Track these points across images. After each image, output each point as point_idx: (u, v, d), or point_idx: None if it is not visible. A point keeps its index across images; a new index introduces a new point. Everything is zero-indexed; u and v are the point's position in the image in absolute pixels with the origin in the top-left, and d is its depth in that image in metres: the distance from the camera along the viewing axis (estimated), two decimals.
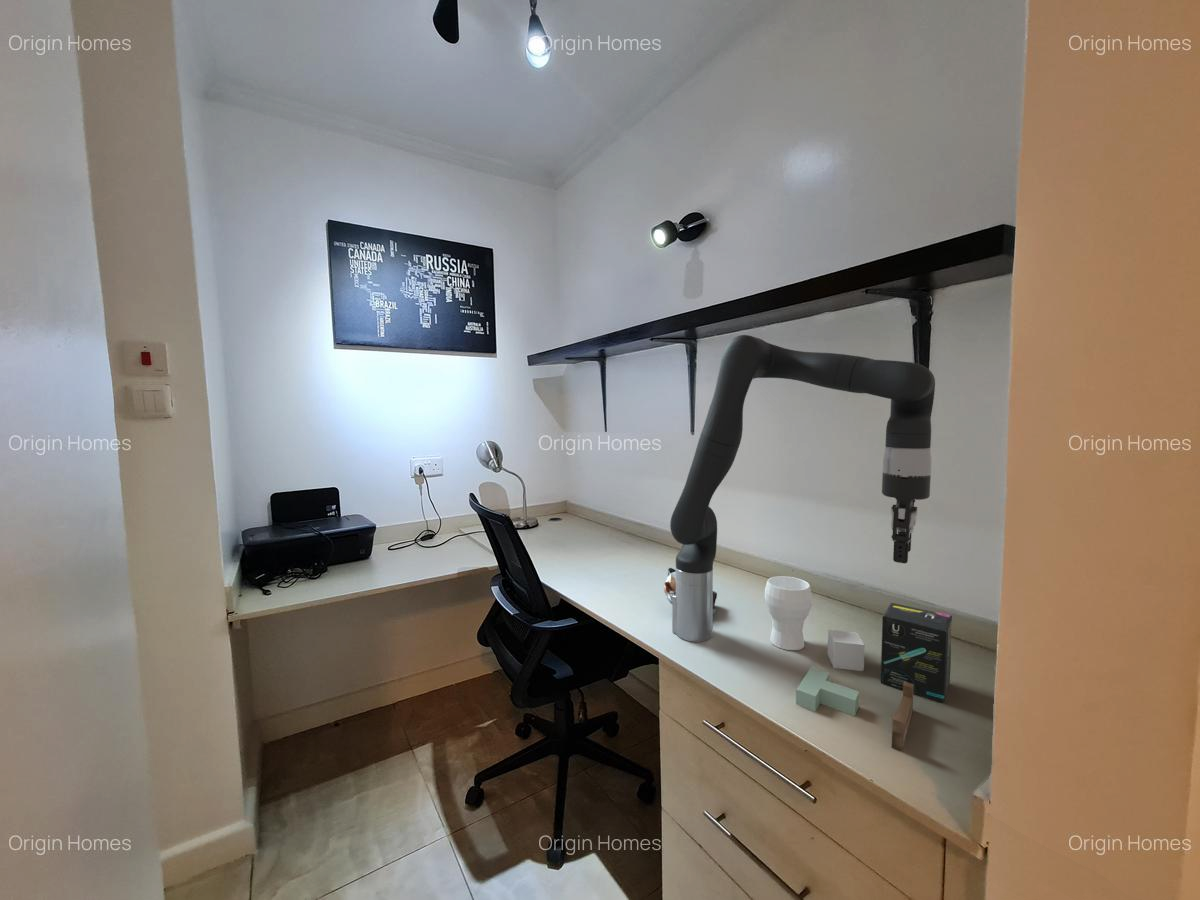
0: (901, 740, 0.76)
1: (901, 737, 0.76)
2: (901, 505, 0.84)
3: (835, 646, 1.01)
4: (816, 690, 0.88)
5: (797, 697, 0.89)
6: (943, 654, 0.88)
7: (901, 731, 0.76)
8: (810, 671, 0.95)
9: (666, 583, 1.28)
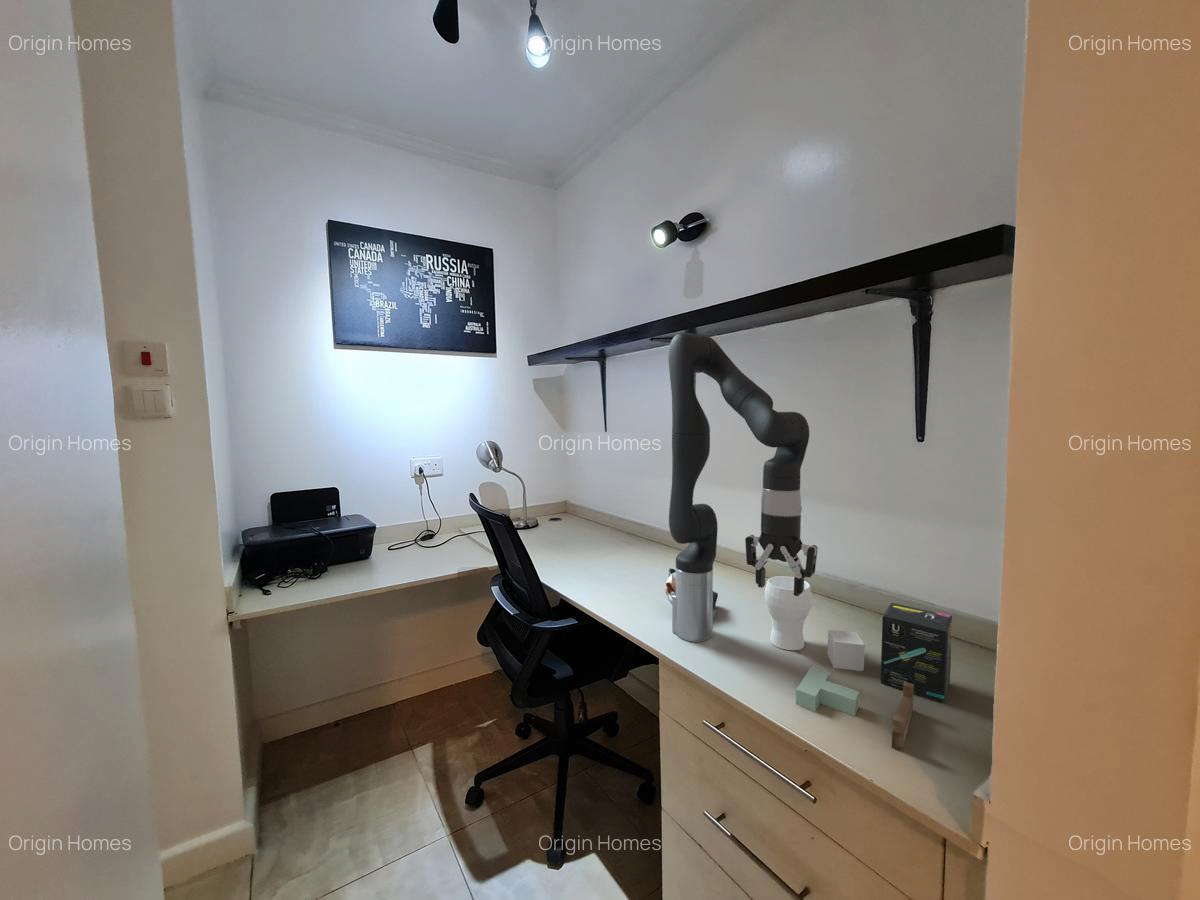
0: (901, 740, 0.76)
1: (901, 737, 0.76)
2: None
3: (835, 646, 1.01)
4: (816, 690, 0.88)
5: (797, 697, 0.89)
6: (943, 654, 0.88)
7: (901, 731, 0.76)
8: (810, 671, 0.95)
9: (667, 584, 1.27)
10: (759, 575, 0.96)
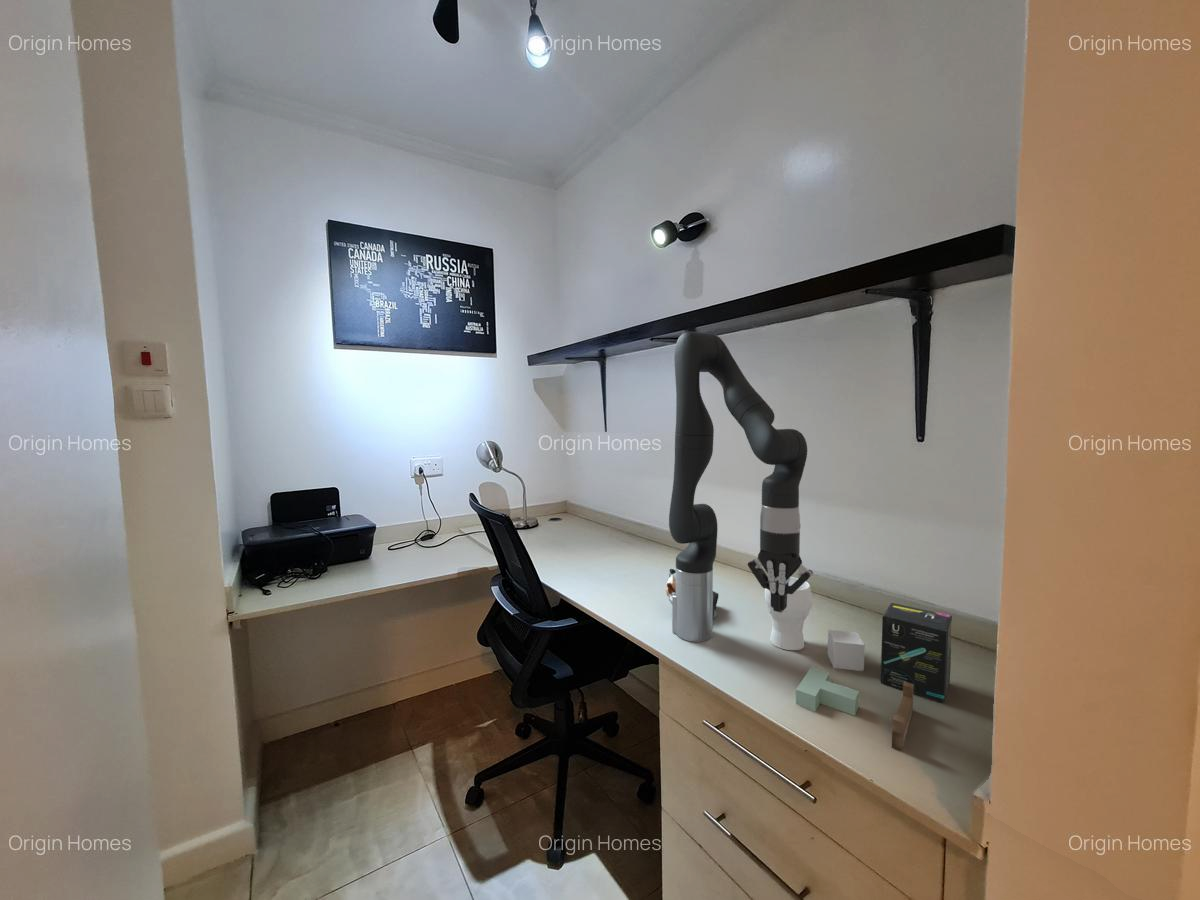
0: (901, 740, 0.76)
1: (901, 737, 0.76)
2: None
3: (835, 646, 1.01)
4: (816, 690, 0.88)
5: (797, 697, 0.89)
6: (943, 654, 0.88)
7: (901, 731, 0.76)
8: (810, 671, 0.95)
9: (668, 584, 1.27)
10: (774, 599, 0.94)
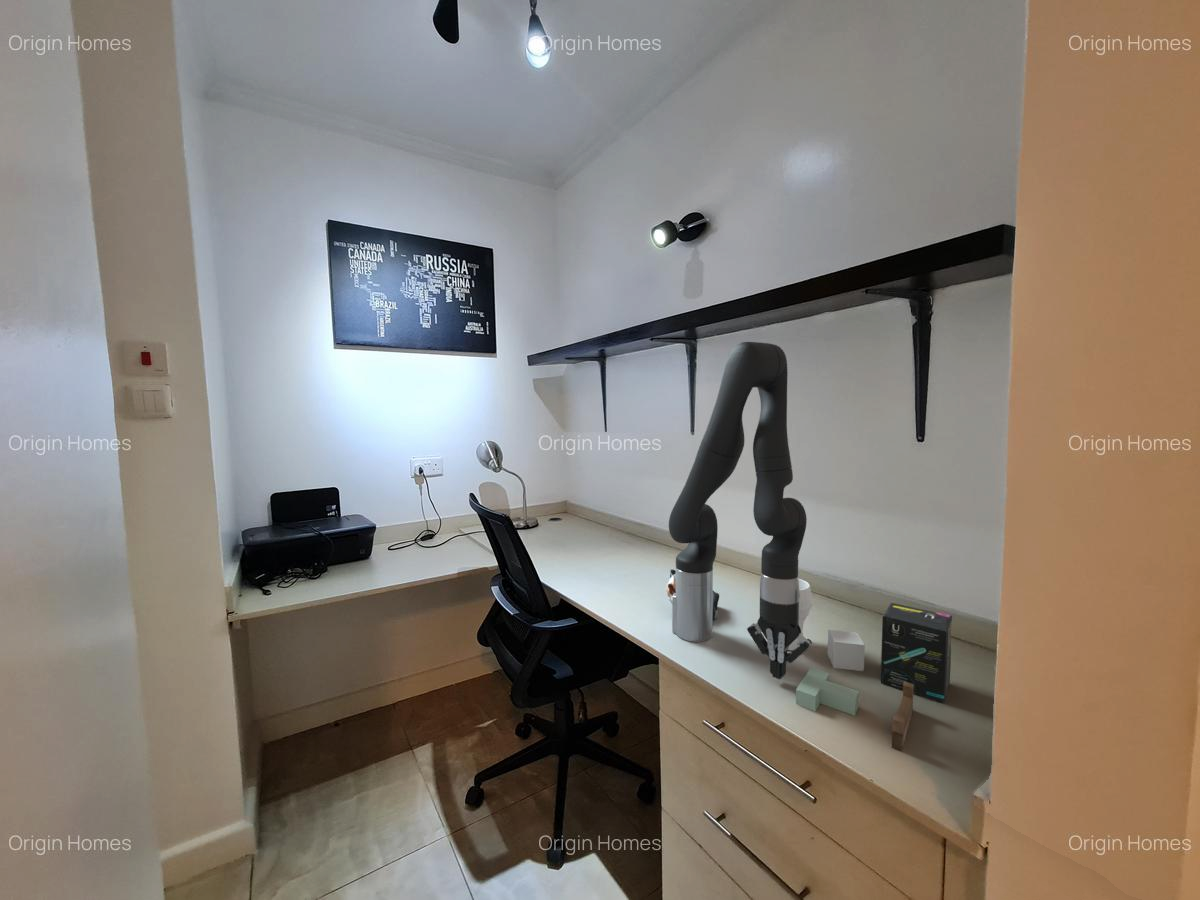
0: (901, 740, 0.76)
1: (901, 737, 0.76)
2: (798, 631, 0.92)
3: (835, 646, 1.01)
4: (816, 690, 0.88)
5: (797, 697, 0.89)
6: (943, 654, 0.88)
7: (901, 731, 0.76)
8: (810, 671, 0.95)
9: (669, 585, 1.26)
10: (773, 665, 0.95)
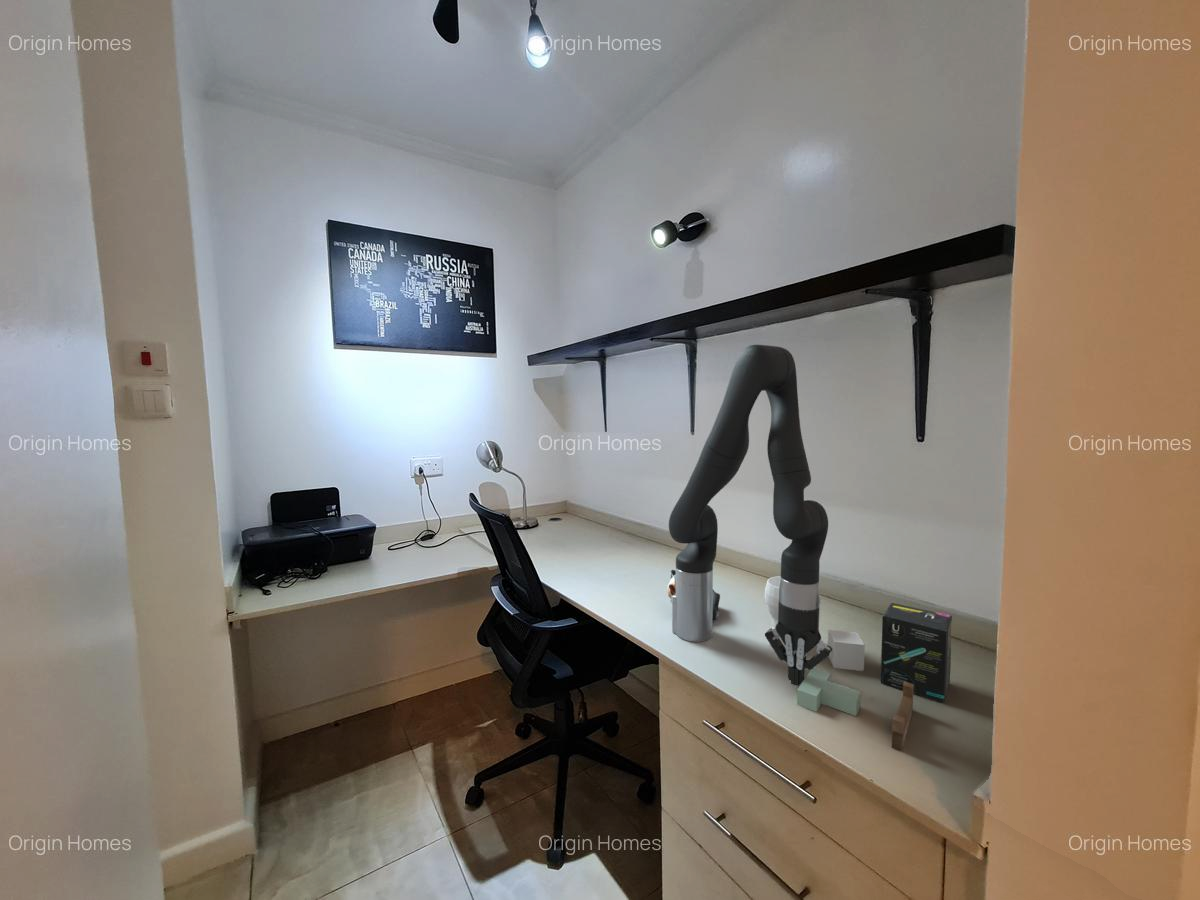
0: (901, 740, 0.76)
1: (901, 737, 0.76)
2: (818, 638, 0.90)
3: (835, 646, 1.01)
4: (817, 690, 0.88)
5: (798, 697, 0.88)
6: (943, 654, 0.88)
7: (901, 731, 0.76)
8: (811, 671, 0.95)
9: (670, 586, 1.26)
10: (792, 672, 0.93)
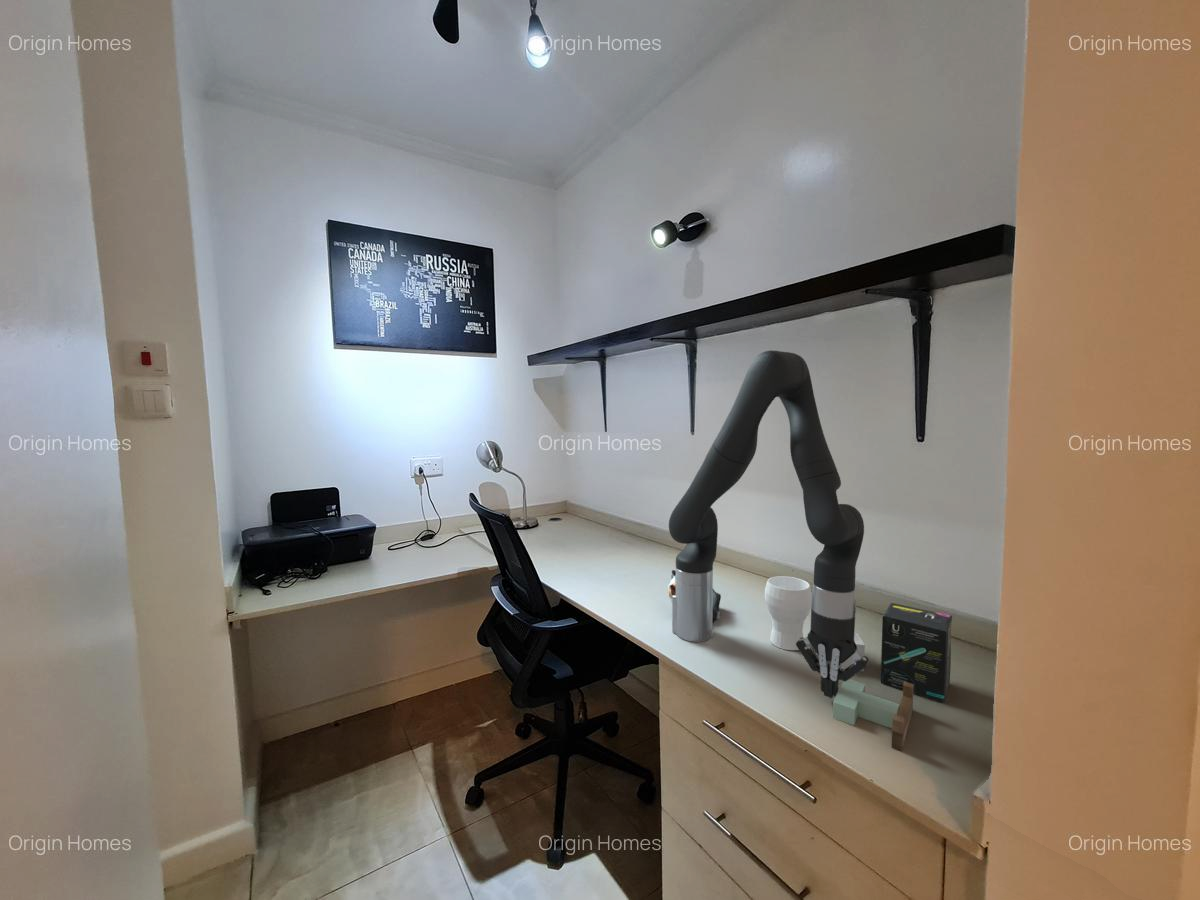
0: (901, 740, 0.76)
1: (901, 737, 0.76)
2: None
3: None
4: (854, 703, 0.84)
5: (834, 710, 0.85)
6: (943, 654, 0.88)
7: (901, 731, 0.76)
8: (845, 682, 0.91)
9: (671, 586, 1.25)
10: (825, 683, 0.89)
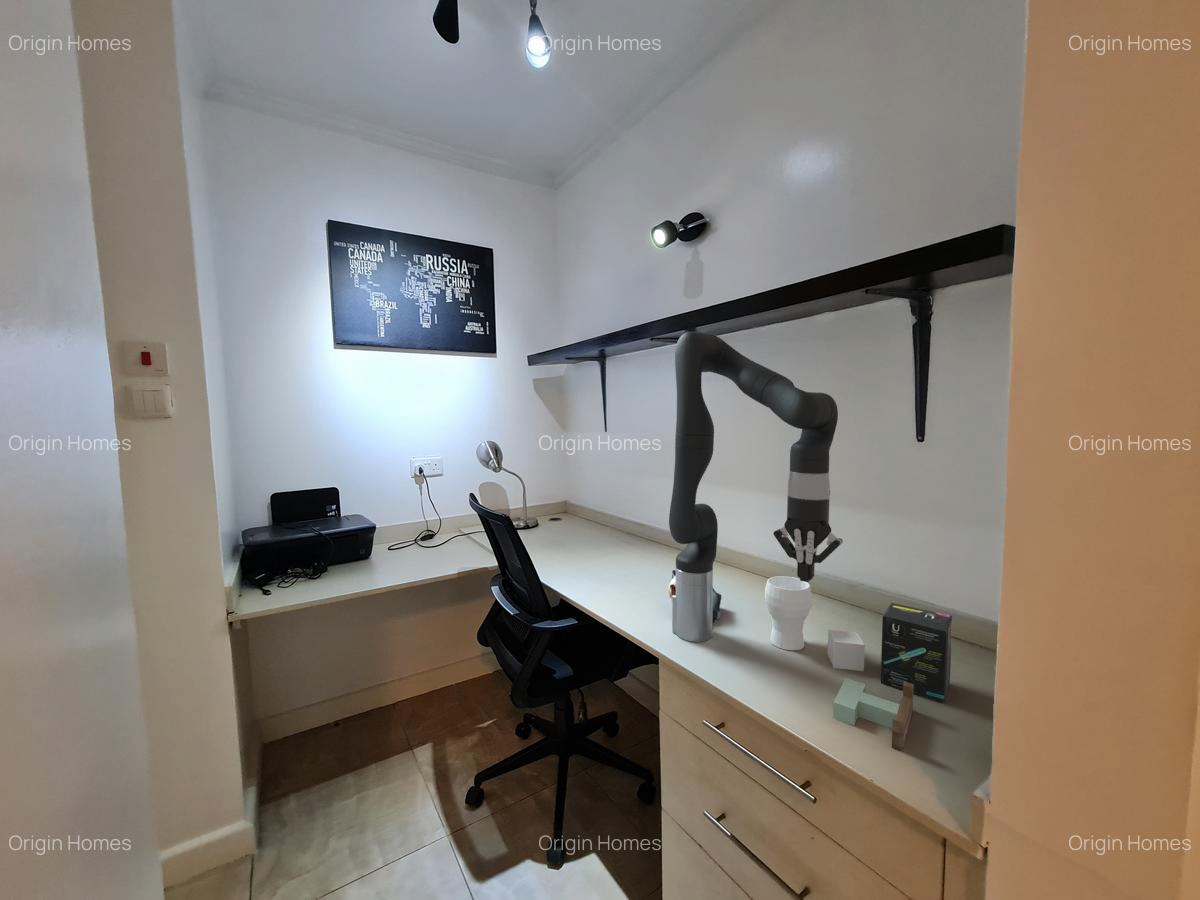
0: (901, 740, 0.76)
1: (901, 737, 0.76)
2: None
3: (835, 646, 1.01)
4: (854, 703, 0.84)
5: (834, 710, 0.85)
6: (943, 654, 0.88)
7: (901, 731, 0.76)
8: (845, 682, 0.91)
9: (671, 586, 1.25)
10: (801, 568, 0.91)
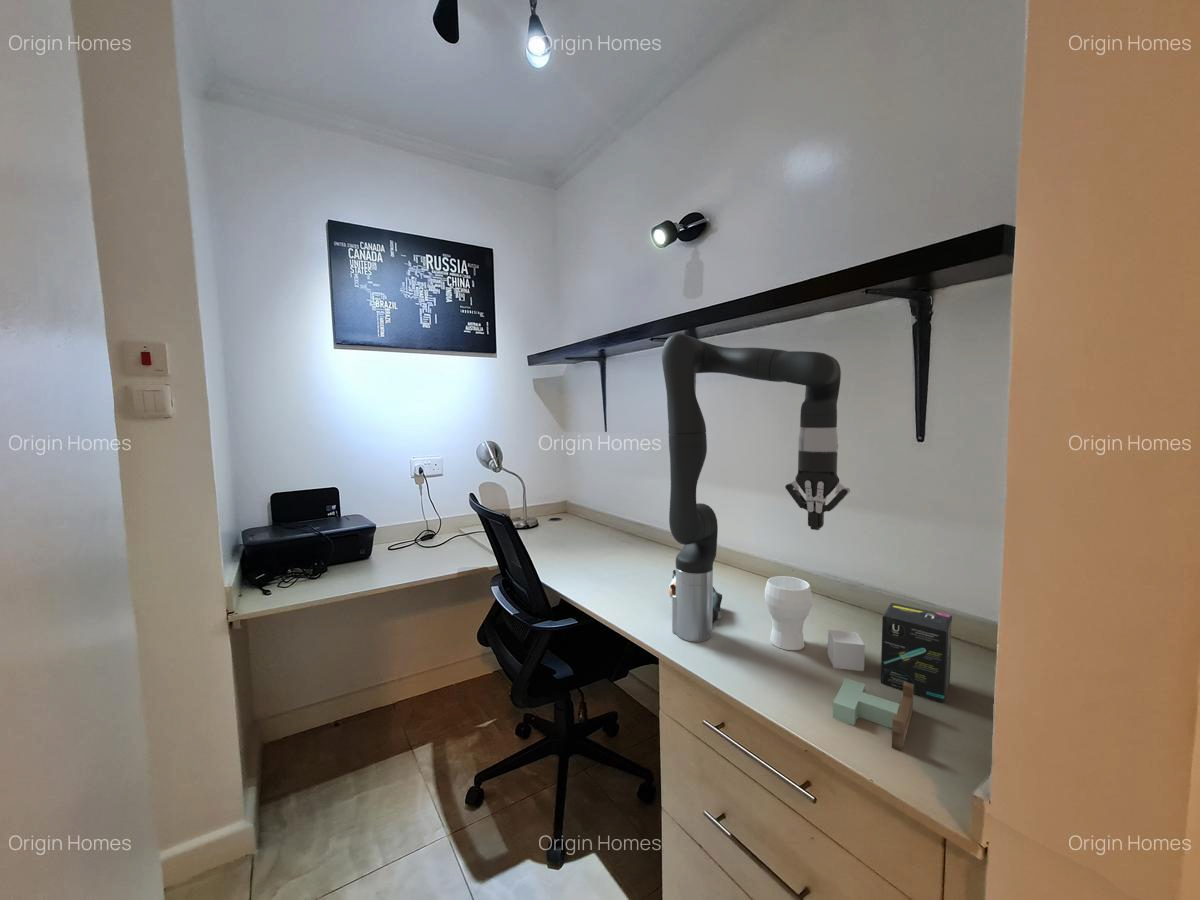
0: (901, 740, 0.76)
1: (901, 737, 0.76)
2: None
3: (835, 646, 1.01)
4: (854, 703, 0.84)
5: (834, 710, 0.85)
6: (943, 654, 0.88)
7: (901, 731, 0.76)
8: (845, 682, 0.91)
9: (672, 586, 1.25)
10: (812, 517, 0.98)
